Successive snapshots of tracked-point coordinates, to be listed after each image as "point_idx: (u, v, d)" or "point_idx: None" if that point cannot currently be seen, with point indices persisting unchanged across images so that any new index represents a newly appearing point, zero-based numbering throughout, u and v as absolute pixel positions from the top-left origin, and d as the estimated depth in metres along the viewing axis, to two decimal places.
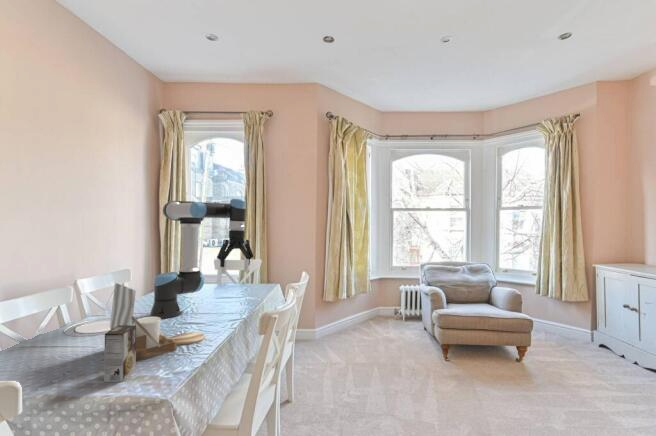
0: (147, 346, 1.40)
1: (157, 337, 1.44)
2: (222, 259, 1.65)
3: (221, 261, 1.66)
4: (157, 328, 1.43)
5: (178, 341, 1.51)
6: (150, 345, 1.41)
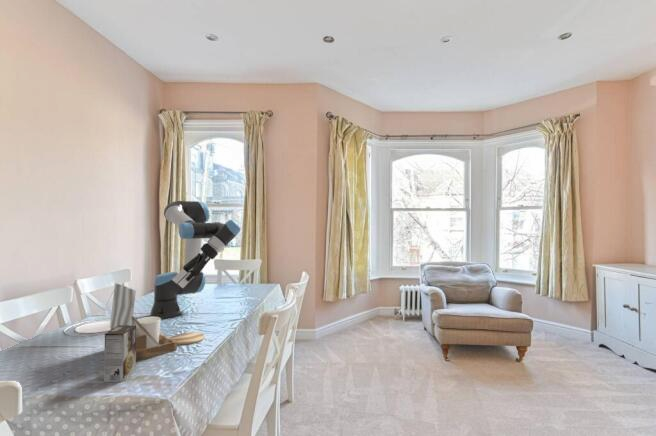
0: (147, 346, 1.40)
1: (157, 337, 1.44)
2: (195, 275, 1.47)
3: (192, 276, 1.46)
4: (157, 328, 1.43)
5: (178, 341, 1.51)
6: (150, 345, 1.41)
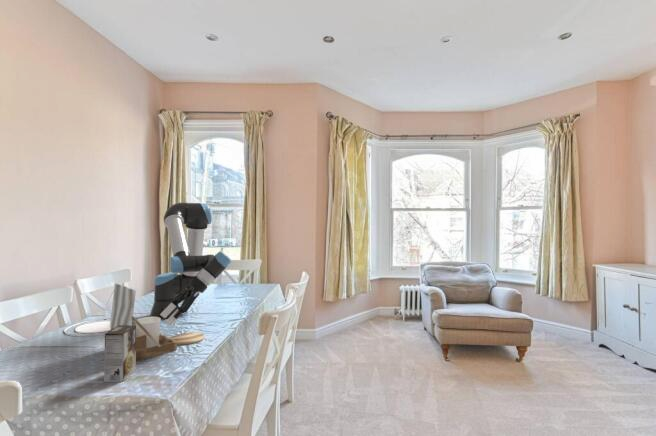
0: (147, 346, 1.40)
1: (157, 337, 1.44)
2: (183, 312, 1.43)
3: (180, 313, 1.43)
4: (157, 328, 1.43)
5: (178, 341, 1.51)
6: (150, 345, 1.41)
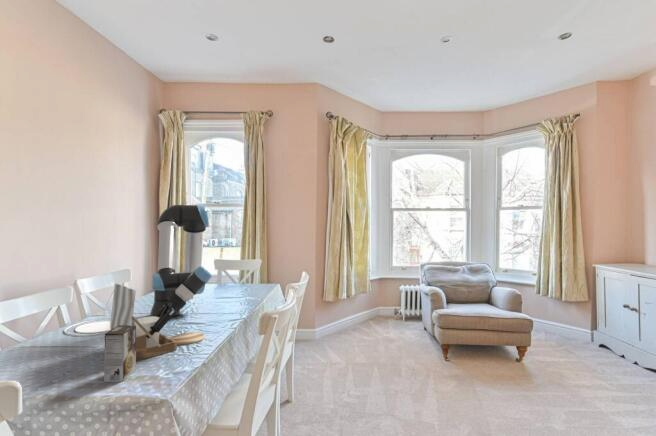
0: (147, 346, 1.40)
1: (157, 337, 1.44)
2: (155, 331, 1.40)
3: (153, 332, 1.39)
4: None
5: (178, 341, 1.51)
6: (150, 345, 1.41)
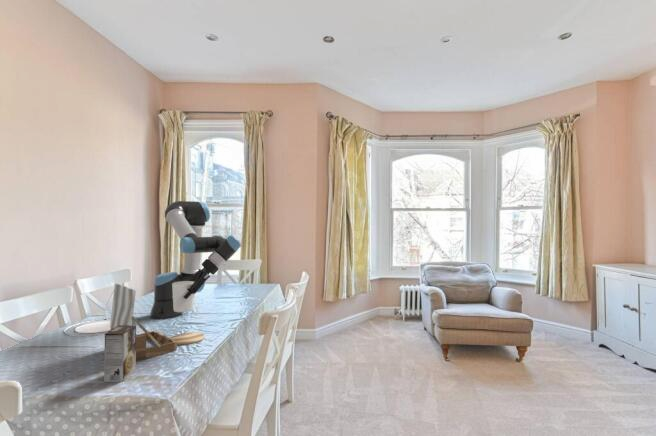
0: (184, 306, 1.51)
1: (193, 299, 1.54)
2: (192, 293, 1.51)
3: (189, 293, 1.50)
4: None
5: (178, 341, 1.51)
6: (187, 306, 1.52)
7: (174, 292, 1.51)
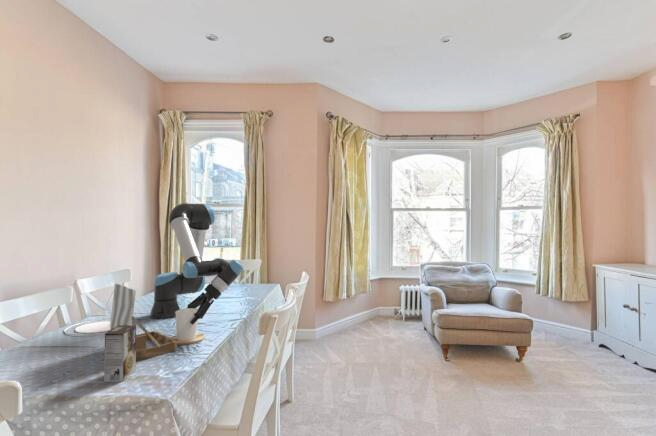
0: (188, 335, 1.53)
1: (196, 327, 1.56)
2: (199, 318, 1.51)
3: (196, 319, 1.50)
4: None
5: (178, 341, 1.51)
6: (190, 334, 1.53)
7: (177, 321, 1.52)
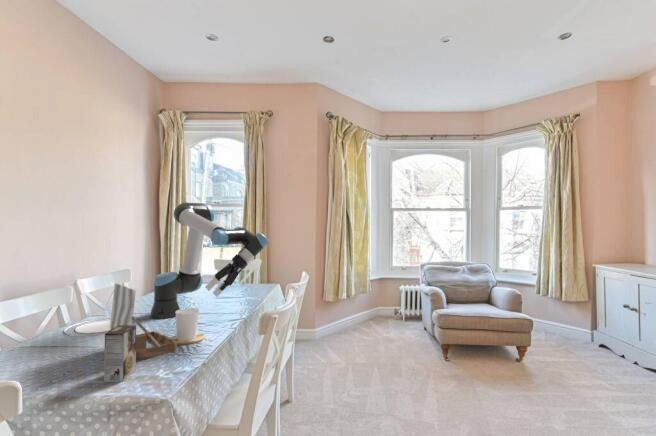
0: (188, 335, 1.53)
1: (196, 327, 1.56)
2: (228, 285, 1.60)
3: (225, 285, 1.59)
4: (196, 318, 1.56)
5: (178, 341, 1.51)
6: (190, 334, 1.53)
7: (178, 321, 1.52)
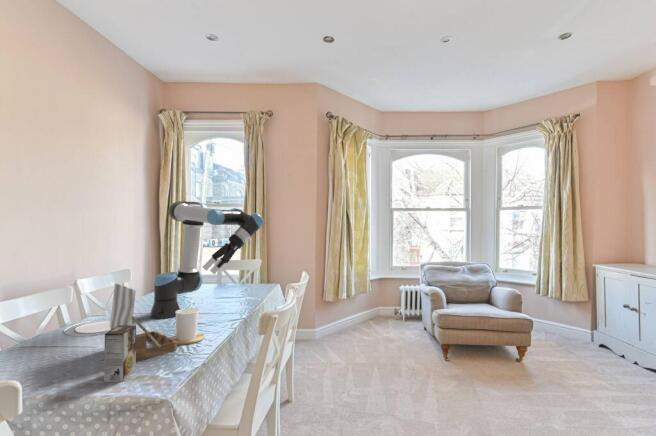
0: (188, 335, 1.53)
1: (196, 327, 1.56)
2: (225, 262, 1.62)
3: (222, 263, 1.61)
4: (196, 318, 1.56)
5: (178, 341, 1.51)
6: (190, 334, 1.53)
7: (178, 321, 1.52)
